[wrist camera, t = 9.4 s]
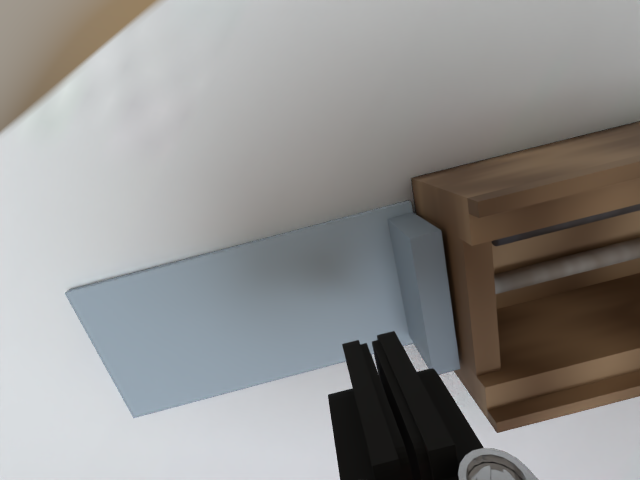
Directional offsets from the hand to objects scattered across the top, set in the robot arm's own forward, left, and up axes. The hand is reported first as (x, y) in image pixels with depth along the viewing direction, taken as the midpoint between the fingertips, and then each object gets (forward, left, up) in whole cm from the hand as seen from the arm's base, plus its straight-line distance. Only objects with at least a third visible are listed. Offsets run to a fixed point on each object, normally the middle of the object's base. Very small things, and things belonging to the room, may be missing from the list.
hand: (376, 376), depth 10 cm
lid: (+4, -1, -7) cm, 8 cm away
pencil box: (-11, +5, -6) cm, 14 cm away
